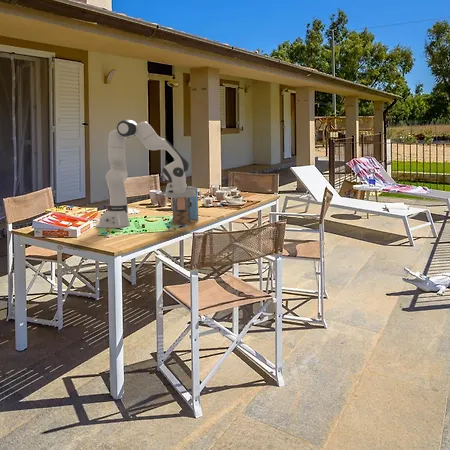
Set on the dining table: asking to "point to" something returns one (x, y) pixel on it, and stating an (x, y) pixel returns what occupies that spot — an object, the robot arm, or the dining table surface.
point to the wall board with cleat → (181, 213)
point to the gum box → (194, 206)
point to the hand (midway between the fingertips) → (181, 199)
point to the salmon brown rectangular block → (181, 203)
